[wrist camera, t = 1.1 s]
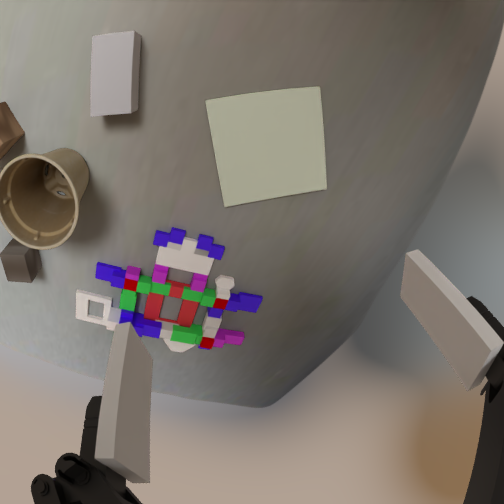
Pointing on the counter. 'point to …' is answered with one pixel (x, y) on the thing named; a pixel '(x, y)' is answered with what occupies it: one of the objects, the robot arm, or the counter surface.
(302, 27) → the counter surface
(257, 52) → the counter surface
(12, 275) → the dark block
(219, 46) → the counter surface
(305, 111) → the coaster
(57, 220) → the flower pot
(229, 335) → the building block set
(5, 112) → the walnut block
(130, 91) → the grey block
